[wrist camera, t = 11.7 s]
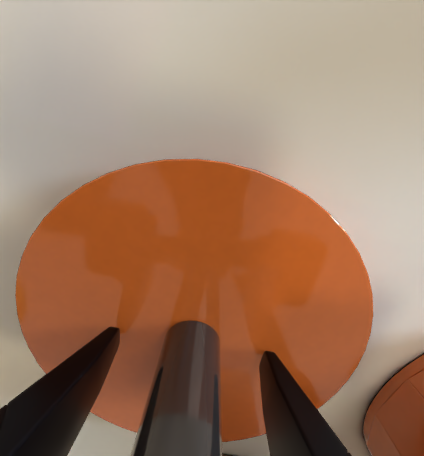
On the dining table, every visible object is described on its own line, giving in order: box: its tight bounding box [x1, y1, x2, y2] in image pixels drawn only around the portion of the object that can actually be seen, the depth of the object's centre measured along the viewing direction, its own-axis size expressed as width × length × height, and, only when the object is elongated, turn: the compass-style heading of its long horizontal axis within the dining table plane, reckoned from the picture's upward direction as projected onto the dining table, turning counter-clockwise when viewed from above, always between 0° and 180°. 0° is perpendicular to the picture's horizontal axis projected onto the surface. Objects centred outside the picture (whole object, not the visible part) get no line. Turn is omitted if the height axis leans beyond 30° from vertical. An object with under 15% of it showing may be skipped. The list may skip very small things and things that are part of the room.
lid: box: [15, 159, 373, 456], centre depth 7 cm, size 15×15×6 cm
